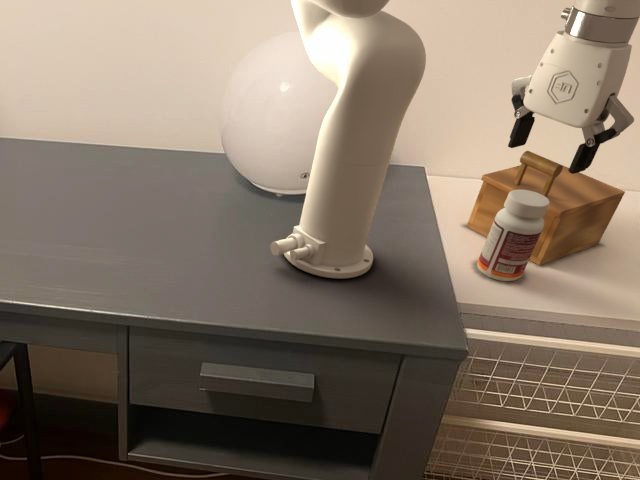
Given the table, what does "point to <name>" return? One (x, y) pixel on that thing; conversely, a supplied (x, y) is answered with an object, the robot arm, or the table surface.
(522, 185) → the lid
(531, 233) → the pill bottle
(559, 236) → the chest
